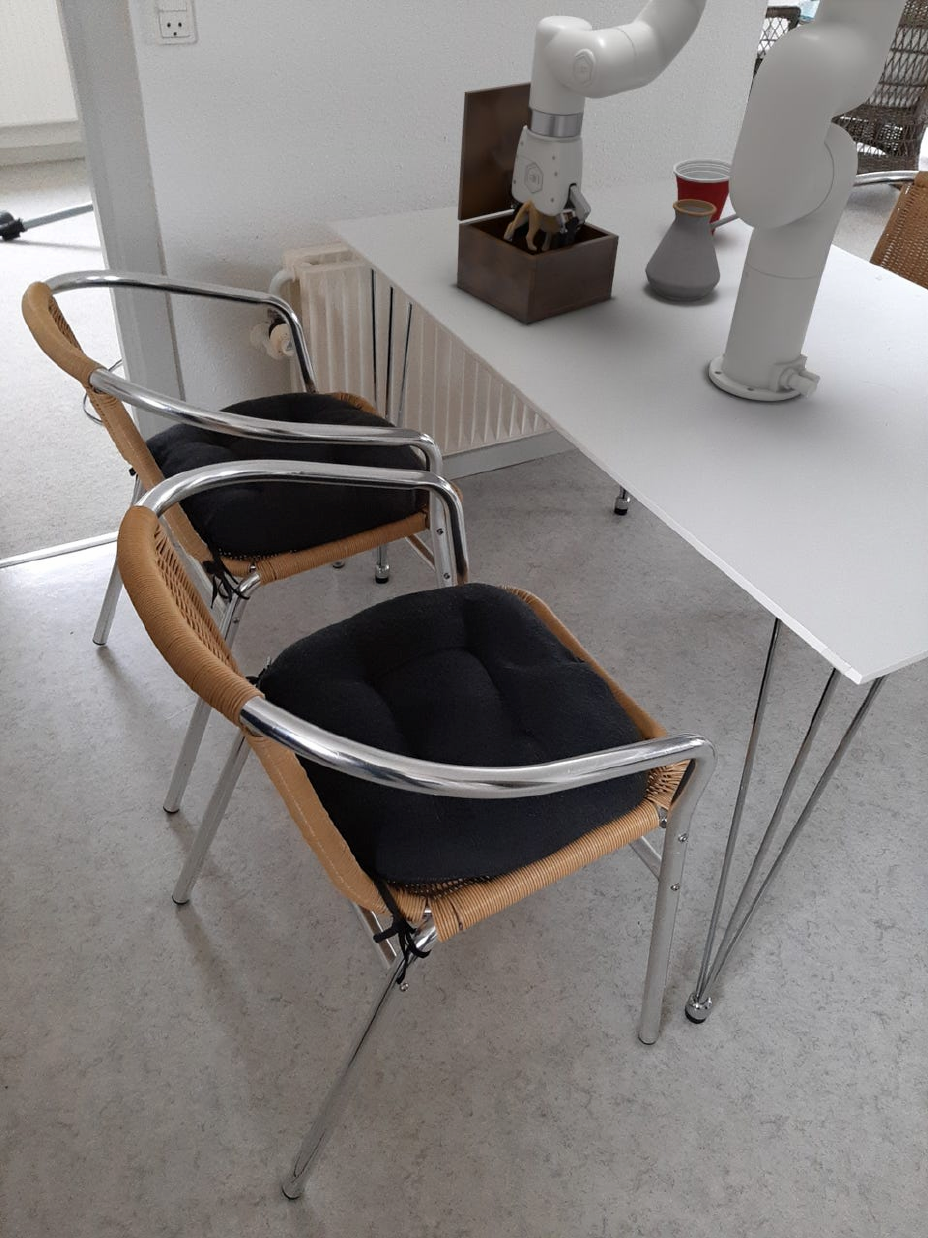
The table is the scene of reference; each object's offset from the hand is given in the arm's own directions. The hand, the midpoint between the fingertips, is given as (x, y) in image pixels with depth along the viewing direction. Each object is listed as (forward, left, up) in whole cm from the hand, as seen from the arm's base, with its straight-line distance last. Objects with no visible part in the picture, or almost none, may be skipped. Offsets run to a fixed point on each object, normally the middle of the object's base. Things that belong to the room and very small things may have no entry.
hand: (540, 246), depth 148 cm
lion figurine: (0, +1, -1) cm, 1 cm away
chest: (+1, 0, -7) cm, 7 cm away
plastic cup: (+3, -39, -7) cm, 40 cm away
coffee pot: (-14, -24, -7) cm, 29 cm away
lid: (+8, 0, +11) cm, 14 cm away
